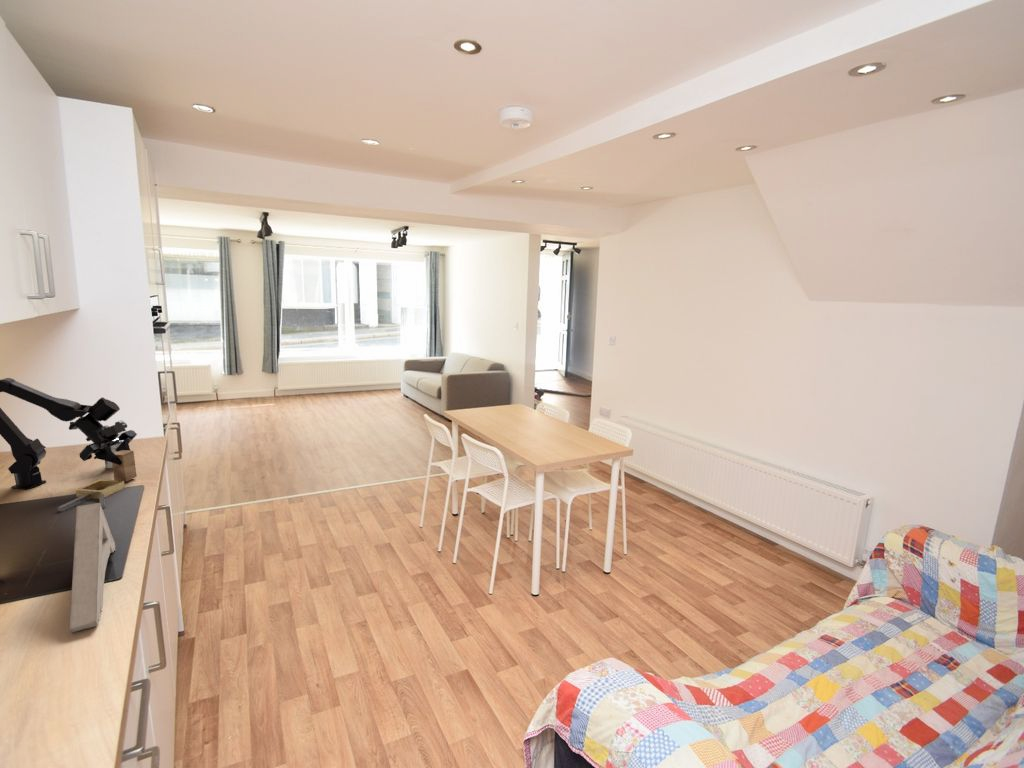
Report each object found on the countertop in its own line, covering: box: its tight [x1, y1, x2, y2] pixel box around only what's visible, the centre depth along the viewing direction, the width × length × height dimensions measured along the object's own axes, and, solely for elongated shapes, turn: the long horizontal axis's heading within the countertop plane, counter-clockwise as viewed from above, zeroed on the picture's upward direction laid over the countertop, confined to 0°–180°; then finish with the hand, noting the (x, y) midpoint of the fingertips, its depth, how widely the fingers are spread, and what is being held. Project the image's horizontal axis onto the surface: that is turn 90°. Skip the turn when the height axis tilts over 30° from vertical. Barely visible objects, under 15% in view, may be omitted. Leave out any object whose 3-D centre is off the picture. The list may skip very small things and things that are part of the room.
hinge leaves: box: [57, 478, 126, 513], centre depth 164 cm, size 15×19×2 cm
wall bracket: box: [69, 502, 116, 633], centre depth 120 cm, size 22×4×30 cm
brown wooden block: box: [112, 449, 138, 483], centre depth 178 cm, size 4×4×10 cm
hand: (127, 461), depth 178 cm, fingers closed on brown wooden block, 4 cm apart
